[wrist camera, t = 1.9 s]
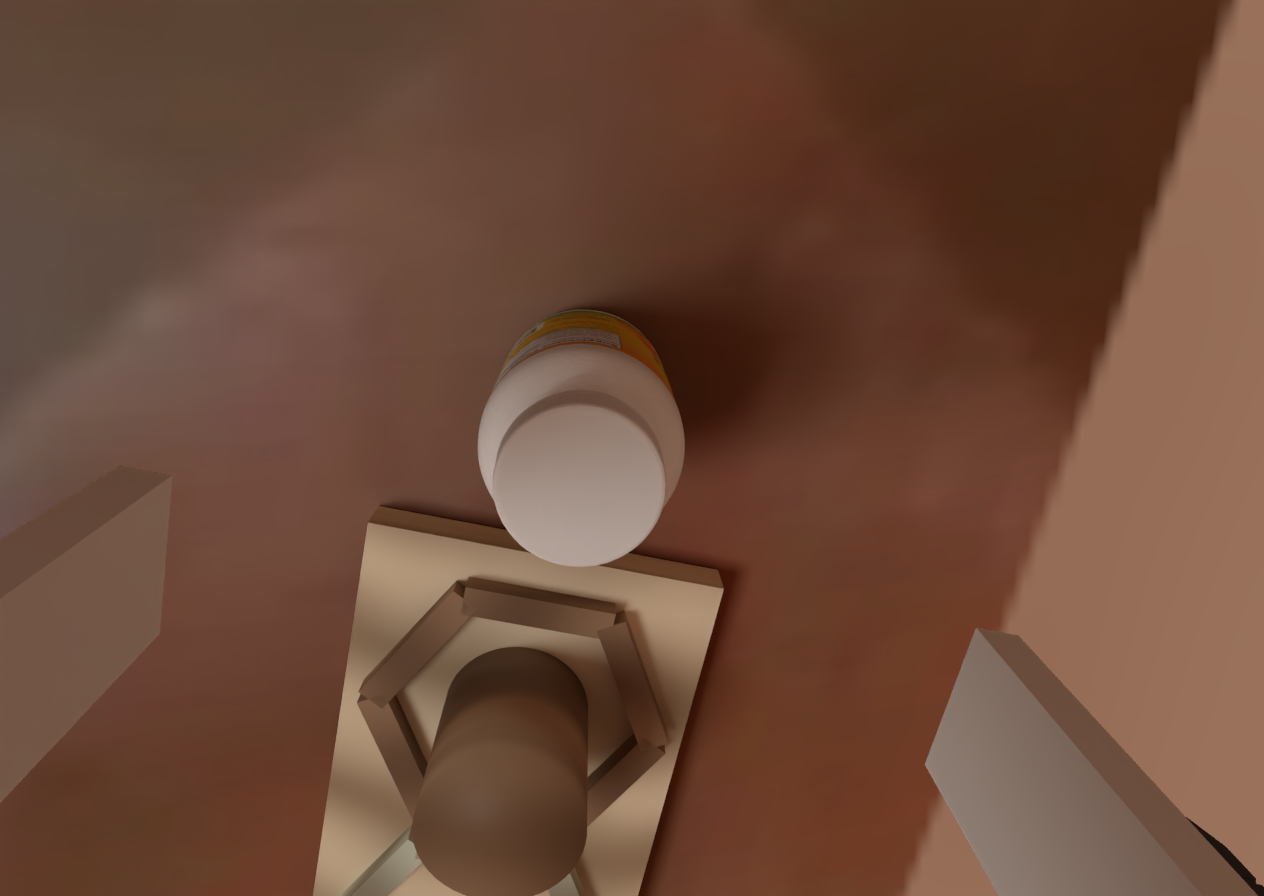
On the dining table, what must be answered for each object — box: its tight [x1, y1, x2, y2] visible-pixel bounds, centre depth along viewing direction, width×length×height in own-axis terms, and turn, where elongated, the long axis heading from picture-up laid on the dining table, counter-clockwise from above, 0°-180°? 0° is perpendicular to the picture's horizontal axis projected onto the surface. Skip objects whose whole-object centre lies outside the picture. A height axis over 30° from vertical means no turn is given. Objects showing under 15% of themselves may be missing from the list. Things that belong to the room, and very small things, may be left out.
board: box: [313, 506, 724, 896], centre depth 33 cm, size 22×12×2 cm, turn 167°
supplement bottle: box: [478, 309, 685, 567], centre depth 25 cm, size 5×5×10 cm
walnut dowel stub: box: [412, 647, 588, 896], centre depth 28 cm, size 5×5×6 cm
